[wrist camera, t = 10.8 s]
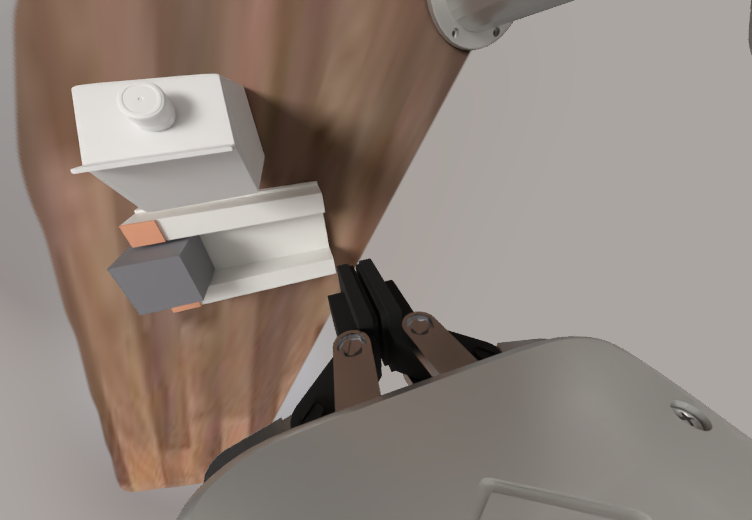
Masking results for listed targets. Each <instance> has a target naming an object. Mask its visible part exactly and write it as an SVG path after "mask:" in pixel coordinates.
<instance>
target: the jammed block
mask: <svg viewBox="0 0 752 520" xmlns="http://www.w3.org/2000/svg"><path fill="white" fill-rule="evenodd" d="M107 270H108V272H109V273H110V274H111V276H112V277H113V278H114V280H115V281H116V282H117V284H118V285H119V287H120V288H121V289H122V291H123V292H124V293H125V295H126V296H127V298H128V299H129V300H130V302H131V303H132V304H133V306H134V307H135V309H136V310H137V311H138V313H139V314H140V315H144V314H148V313H152V312H157V311H161V310H165V309H170V308H174V307H178V306H183V305H187V304H191V303H196V302H200V301H204V298H205V295H206V292H207V290H208V287H209V284H210V281H211V279H212V276H213V273H214V270H215V268H214V266H213V263H212V261H211V259H210V257H209V255H208V253H207V251H206V249H205V246H204V244H203V242H202V240H201V238H200V236H199V235H195V236H190V237H184V238H178V239H173V240H167V241H166V242H162V243H156V244H151V245H145V246H140V247H134V248H132V246H130V247H129V248H128V249H127V250H126V251H125V252H124V253H123V254H122V255H121V256H120V257H119V258H118V259H117V260H116V261H115V262H114V263H113V264H112V265H111V266H110V267H109V268H108V269H107Z"/></svg>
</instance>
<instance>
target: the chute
mask: <svg viewBox="0 0 752 520" xmlns="http://www.w3.org/2000/svg"><path fill="white" fill-rule="evenodd" d="M134 211H135V214H134V215H133V216H132V217H130V218H129V219H128V220H127V221H125V222H124V223H123V224H121V225H120V226H119V227H120V229H121V230H122V232H123V234H124V235H125V237H126V238H127V240H128V241H129V243H130V245H131V246H132V248H134V247H140V246H145V245H151V244H156V243H162V242H166V241H167V240H173V239H178V238H184V237H190V236H195V235H199V236H200V238H201V240H202V242H203V244H204V246H205V249H206V251H207V253H208V255H209V257H210V259H211V261H212V263H213V266H214V268H215V270H214V273H213V276H212V279H211V281H210V284H209V287H208V290H207V292H206V295H205V298H204V301H200V302H196V303H191V304H187V305H183V306H178V307H174V308H171V309H172V311H173V312H179V311H183V310H187V309H191V308H196V307H200V306H201V305H202V304H207V303H211V302H215V301H220V300H224V299H228V298H232V297H237V296H241V295H245V294H249V293H254V292H258V291H262V290H267V289H271V288H275V287H279V286H284V285H288V284H292V283H296V282H301V281H305V280H309V279H314V278H318V277H322V276H326V275H331V274H335V273H336V270H335V264H334V259H333V256H332V253H331V251H330V248H329V243H328V238H327V233H326V227H325V222H324V216H323V213H324V212H325V208H324V203H323V197H322V192H321V190H320V189H319V187H318V184H317V181H312V182H305V183H299V184H292V185H285V186H279V187H272V188H265V189H259V191H258V193H254V194H249V195H244V196H238V197H233V198H227V199H222V200H216V201H211V202H205V203H200V204H194V205H189V206H183V207H178V208H172V209H167V210H161V211H155V212H148V213H147V212H145V211H143V210H142V209H141V208H137V209H136V210H134Z"/></svg>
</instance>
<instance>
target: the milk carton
mask: <svg viewBox="0 0 752 520" xmlns="http://www.w3.org/2000/svg"><path fill="white" fill-rule="evenodd" d="M72 96H73V103H74V110H75V117H76V124H77V131H78V137H79V144H80V151H81V158H82V164H83V166H80V167H77V168H74V169H71V170H70V171H71V172H72V173H73V174H76V173H83V172H90V173H91V174H93V175H94V176H96V177H97V178H99V179H100V180H101V181H103V182H104V183H106V184H107V185H108V186H110V187H111V188H113V189H114V190H115V191H117V192H118V193H120V194H121V195H122V196H124V197H125V198H127V199H128V200H129V201H131V202H132V203H134V204H135V205H136V206H138V207H139V208H141V209H142V210H143V211H145V212H147V213H148V212H155V211H161V210H167V209H172V208H178V207H183V206H189V205H194V204H200V203H205V202H211V201H216V200H222V199H227V198H233V197H238V196H244V195H249V194H254V193H258V191H259V185H260V180H261V175H262V170H263V164H264V159H265V156H264V152H263V149H262V146H261V143H260V139H259V136H258V133H257V129H256V126H255V123H254V120H253V116H252V113H251V110H250V106H249V103H248V100H247V97H246V93H245V90H244V87H243V86H242V85H240V84H238V83H236V82H234V81H231V80H229V79H227V78H225V77H223V76H221V75H219V74H199V75H186V76H175V77H163V78H152V79H140V80H128V81H116V82H105V83H94V84H85V85H79V86H75V87H73V88H72Z"/></svg>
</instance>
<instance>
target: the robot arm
mask: <svg viewBox="0 0 752 520" xmlns="http://www.w3.org/2000/svg"><path fill="white" fill-rule="evenodd" d="M571 1H573V0H427V4H428V9H429V12H430V15H431V17H432V20H433V23H434V25H435V26H436V28H437V30H438V32H439V33H440V34H441V36H442V37H443V38H444V39H445V40H446V41H447V42H448V43H450V44H451V45H452V46H454V47H456V48H459V49H461V50H476V49H480V48H483V47H486V46H488V45H490V44H492V43H494V42H495V41H496V40H498V39H499V38H500V37H501V36H502V35H503V34H504V33H505V32H506V31H507V29H508V28H509V27H510V26H511V24H512V23H513V21H515V20H517V19H521V18H524V17H526V16H529V15H532V14H535V13H538V12H541V11H544V10H547V9H550V8H553V7H556V6H559V5H561V4H565V3H567V2H571ZM452 33H453V36H452ZM749 46H750V51H751V54H752V0H751V13H750V22H749ZM337 272H338V277H339V283H340V289H341V293H337V294H333V295H329V296H328V300H329V305H330V310H331V314H332V318H333V322H334V326H335V330H336V334H337V338H336V339H335V341H334V343H333V358H332V359H331V360H330V362H329V363H328V365H327V366H326V367H325V369H324V370H323V371H322V373H321V374H320V375H319V377H318V378H317V379H316V381H315V382H314V383H313V385H312V386H311V387H310V389H309V390H308V391H307V393H306V394H305V395H304V397H303V398H302V400H301V401H300V402H299V404H298V405H297V406H296V408H295V410H294V412H293V413H292V415H290V416H289V417H287V418H285V419H284V420H282V418H279V419H278V420H276V421H274V422H273V423H271V424H269V425H267V426H266V427H264V428H262V429H261V430H259V431H257V432H255V433H254V434H252V435H250V436H248V437H247V438H245V439H243V440H242V441H240V442H238V443H236V444H235V445H233V446H231V447H230V448H228V449H226V450H224V451H223V452H222V453H220V454H219V455H218V456H217V457H216V458H215V459H214V460H213V461H212V463H211V464H210V465H209V467H208V469H207V471H206V473H205V476H204V483H203V485H202V486H200V488H198V489H197V491H196V492H195V493H194V494H193V495H192V496H191V498H190V499H189V500H188V501H187V503H186V504H185V505H184V507H183V508H182V510H181V512H180V514H179V515H178V517H177V519H176V520H752V439H751V438H750V437H748V436H747V435H746V434H744V433H743V432H741V431H740V430H739V429H737V428H736V427H735V426H733V425H732V424H730V423H729V422H728V421H726V420H725V419H724V418H722V417H721V416H720V415H718V414H717V413H716V412H714V411H713V410H711V409H710V408H709V407H707V406H706V405H704V404H703V403H702V402H701V401H699V400H698V399H696V398H695V397H694V396H692V395H691V394H689V393H688V392H687V391H685V390H684V389H682V388H681V387H680V386H678V385H677V384H675V383H674V382H672V381H671V380H670V379H668V378H667V377H665V376H664V375H662V374H661V373H660V372H658V371H657V370H655V369H654V368H652V367H651V366H649V365H648V364H646V363H645V362H643V361H642V360H640V359H639V358H637V357H635V356H634V355H632V354H631V353H629V352H627V351H626V350H624V349H622V348H620V347H618V346H617V345H615V344H612V343H610V342H608V341H605V340H601V339H597V338H591V337H574V336H569V337H557V338H552V339H531V340H522V341H512V342H502V343H497V346H494V345H493V344H490V343H488V342H485V341H481V340H478V339H475V338H471V337H468V336H465V335H461V334H458V333H455V332H451V331H448V330H446V329H445V328H444V327H443V326H442V325H441V324H440V323H439V322H438V321H437V320H436V319H435V318H434V317H433V316H432V315H430V314H428V313H425V312H413V310H412V309H411V307H410V306H409V304H408V303H407V301H406V300H405V298H404V297H403V295H402V294H401V292H400V291H399V289H398V288H397V286H396V285H395V283H394V282H393V281H392V280H389V281H385V282H384V280H383V278H382V277H381V275H380V273H379V272H378V270H377V268H376V267H375V265H374V264H373V262H372V260H371V259H366V260H361V261H359V264H357V265H356V271H355V269H354V267H353V266H349V265H348V264H344V265H340V266H337ZM356 272H357V273H356ZM381 359H382V361H383V363H384V365H385V366H387V365H389V367H390V369H391V372H393V371H398V372H400V373H403V376H404V379H405V381H406V382H407V383H408V385H409V386H407V387H404V388H401V389H398V390H395V391H392V392H390V393H387V394H384V395H381V394H380V388H379V383H378V382H379V380H380V378H381V376H382V373H381Z"/></svg>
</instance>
